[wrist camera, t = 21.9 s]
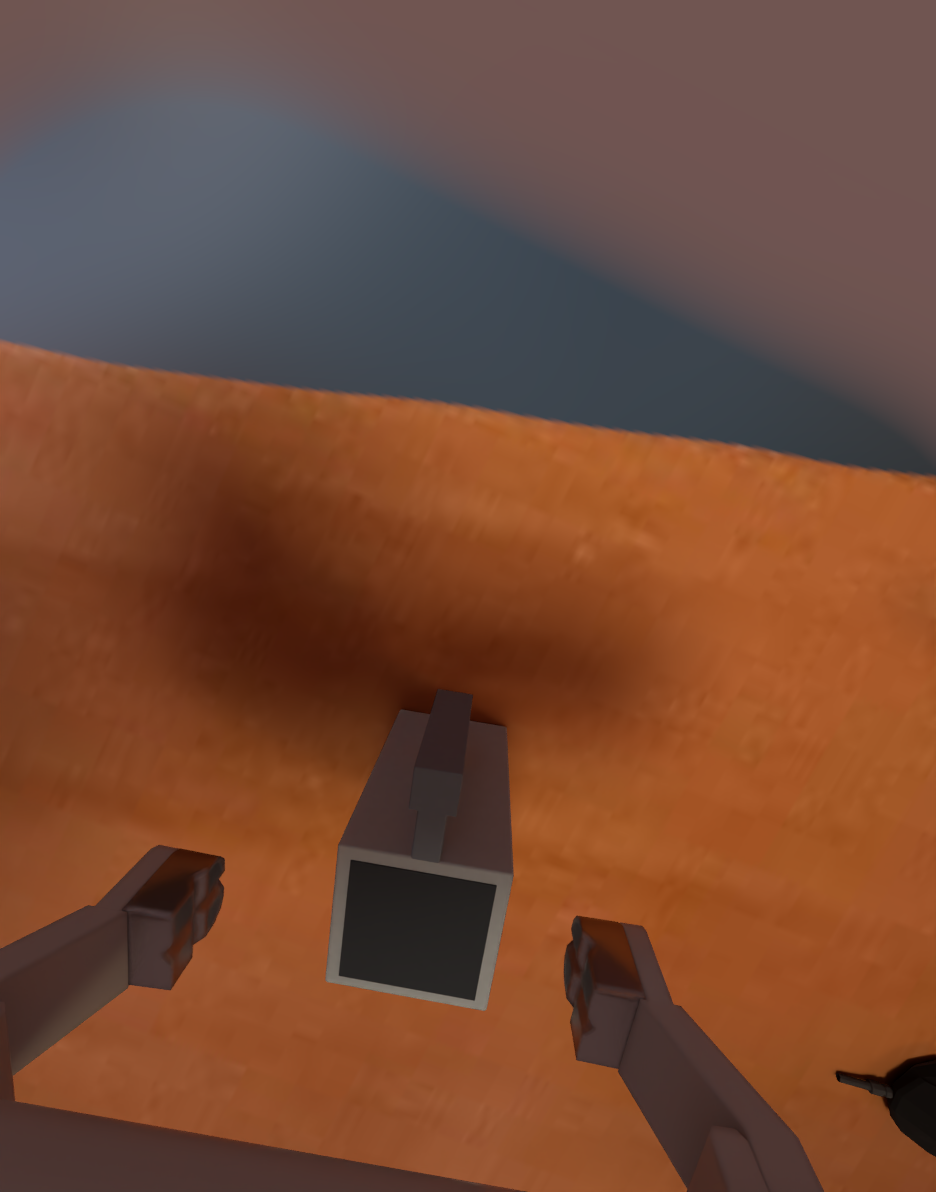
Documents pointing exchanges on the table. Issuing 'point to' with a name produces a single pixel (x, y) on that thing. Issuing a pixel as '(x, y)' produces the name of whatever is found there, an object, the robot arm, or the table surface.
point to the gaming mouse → (909, 1102)
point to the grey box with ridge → (427, 861)
